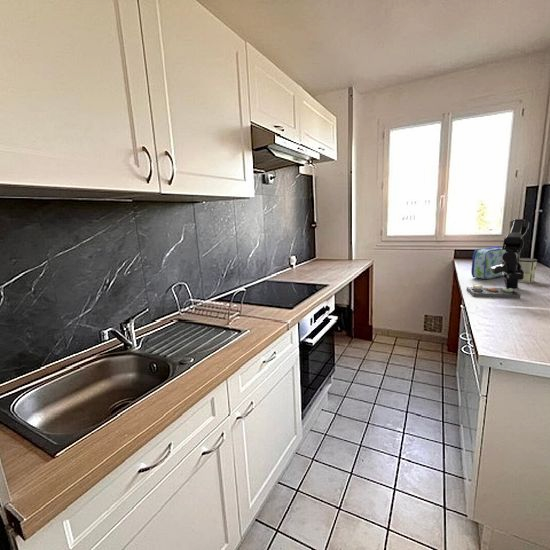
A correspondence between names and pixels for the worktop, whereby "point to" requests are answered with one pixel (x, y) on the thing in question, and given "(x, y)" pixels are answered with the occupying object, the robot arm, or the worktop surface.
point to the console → (493, 293)
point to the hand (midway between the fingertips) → (507, 288)
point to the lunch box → (486, 262)
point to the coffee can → (528, 269)
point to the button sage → (507, 290)
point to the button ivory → (477, 287)
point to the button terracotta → (492, 289)
